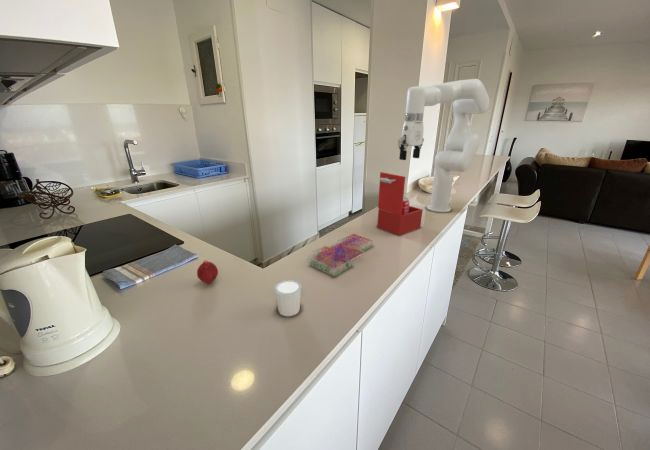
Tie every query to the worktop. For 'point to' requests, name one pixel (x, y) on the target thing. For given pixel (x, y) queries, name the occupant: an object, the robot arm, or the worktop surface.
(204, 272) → the onion
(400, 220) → the red box
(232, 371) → the worktop surface
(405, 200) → the soda can
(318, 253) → the confetti patterned tile
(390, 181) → the lid
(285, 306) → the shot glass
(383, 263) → the worktop surface
